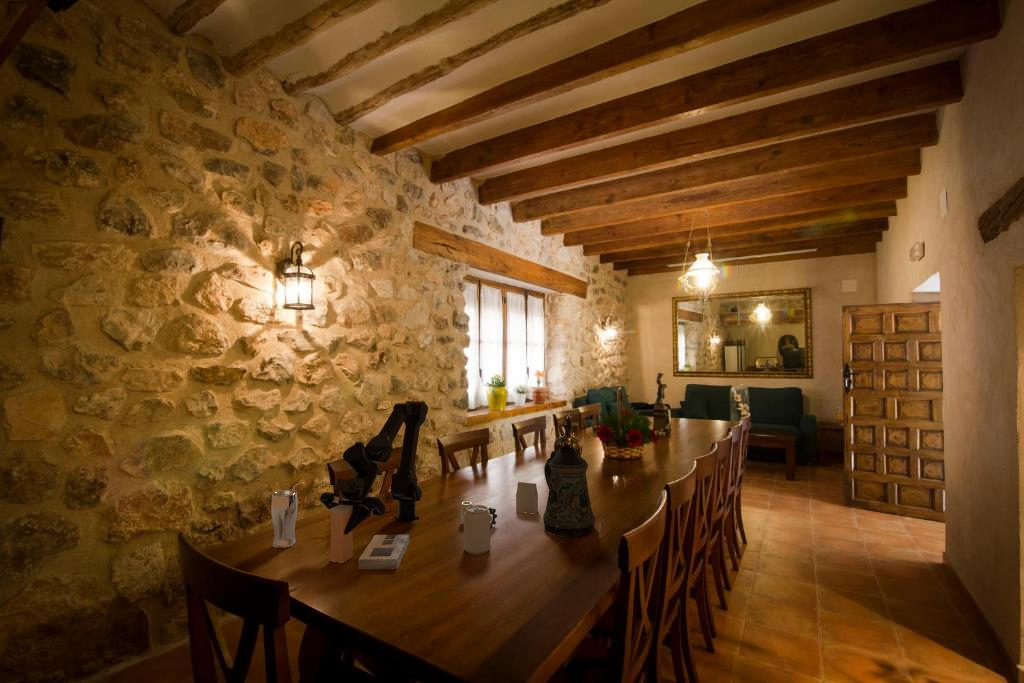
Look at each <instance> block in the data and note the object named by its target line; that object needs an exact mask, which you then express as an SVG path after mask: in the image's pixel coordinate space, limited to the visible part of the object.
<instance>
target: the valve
mask: <svg viewBox="0 0 1024 683" xmlns="http://www.w3.org/2000/svg"><path fill="white" fill-rule="evenodd" d="M472 505H473V502H471V501H468V500H467V501H462V503H461V508H460V509H461V510H460V511H459V512H460V517H461V518H460V519H461V521H460V522H461V525H464V513H465V512H466V511H467V510H466V508H467V507H469V506H472ZM488 511H489V512H490V530H492V529H493V525H496V524H497V521H496V519H498V514H497V513H496V511H497V509H496V508H492V507H488ZM491 528H492V529H491Z"/></svg>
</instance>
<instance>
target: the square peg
mask: <svg viewBox="0 0 1024 683" xmlns="http://www.w3.org/2000/svg"><path fill="white" fill-rule="evenodd" d="M329 511H330V529H331V531H330V561H332V563H336V562H338V563H339V564H342V563H343V564H344V562H345V563H346V562H348V561H349V560H350V558H351V559H352V558H353V536H354V535H353V534H354V533H353V532H354V531H353V530H354V529H353V530H352V531H350V532H349V533H348V534H347V535H345V534H344V531H345V528H346V526H347V524H348V522H349V519H350V517H351V515H352V513H353V506H349V505H341V504H340V505H338V506H336V507H334V508H332V509H330V510H329ZM347 560H348V561H347Z"/></svg>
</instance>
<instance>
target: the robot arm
mask: <svg viewBox="0 0 1024 683" xmlns="http://www.w3.org/2000/svg"><path fill="white" fill-rule="evenodd" d="M428 412H429V406H428V404H427V403H426V402H425V401H424V400H423V401H422V400H421V401H420V400H419V401H417V400H406V401H405V403H404V402H402V403H401V402H398V403H395V404H394V405H393V409H392V412H391V413H390V414H389V416H388V418H387V420H386V422H385V423H384V425H383V426H382V427H381V430H380V431H379V432H378V434H377V435H375V436H373V437H372V438H371V439H369V441H368V442H367V443H366V445H365V444H364V442H362V441H356V442H355V444H352V445H350V446H349V447H348V448H346V449H345V450H344V451H343V454H342V459H343V460H344V462H345V463H346V464H347V466H348V467H349V468H350V469H351V471H353V472H354V473H355V475H354V477H353V478H351V477H350V478H349V479H344V478H336V481H335V485H334V489H333V490H334V492H331V491H324V492H321V495H320V497H319V498H318V501H319V502H320V503H321V504H322V505H324V507H325V508H326V509H328V510H329V511H330V509H332V508H334V507H336V506H338V505H340V504H341V505H349V506H353V513H352V515H351V517H350V519H349V522H348V524H347V526H346V528H345V531H344V534H345V535H347V534H348V533H349V532H350V531H352V530H354V529H355V528H356V527H357V526H359V525H360V524H361V523H363V521H365V520H366V519H368V518H371V517H372V515H371V512H372V514H373V515H374V516H378V517H383V516H384V514H385V512H386V504H384V502H383V501H382V500H381V499H380V498H379V497H376V496H375V497H374V496H369V494H372V493H373V492H374V489H373V488H372V487H373V485H374V482H375V481H376V478H377V477H378V476H382V475H383V471H382V468H381V465H378V464H379V463H380V464H384V463H385V464H386V463H387V462H388V461H389V460H390V457H391V455H392V453H393V450H394V449H393V448H394V446H393V443H394V440H395V439H396V437H397V435H398V433H399V431H400V429H401V428H402V427H403V425H404V426H405V428H404V434H403V440H402V448H401V454H400V462H399V467H398V468H399V469H397V471H396V472H394V473H392V475H391V482H390V485H389V486H390V493H391V499H392V501H393V500H394V501H395V500H396V501H398V503H397V504H398V509H397V514H394V517H395V518H396V519H398V521H399V522H407V521H412V520H417V518H418V519H420V515H418V514H417V513H416V510H417V509H416V505H417V504H416V502H420V501H421V499H422V497H423V491H422V490H421V488H420V487H419V485H418V476H417V474H416V471H415V464H416V458H417V449H418V443H419V435H420V429H421V427H422V425H423V424H424V423H425V422H426V420H427V415H428ZM377 463H378V464H377ZM336 492H340V495H341V496H342V497H343V498H341V497H340V496H339V494H337V493H336ZM329 532H331V528H330V530H329Z"/></svg>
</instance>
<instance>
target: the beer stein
mask: <svg viewBox="0 0 1024 683" xmlns="http://www.w3.org/2000/svg"><path fill="white" fill-rule="evenodd" d="M588 467H589V463H588V461H586V459H585V458H583V457H582V456H581V455H580V454H578V453H577V452H576V450H575V448H573V447H567V446H565V447H564V446H563V447H560V449H559V450H552V451H551V453H550V456H549V458H547V460H546V462H545V464H544V467H543V472H544V478H545V482H546V485H547V487H548V496H547V501H546V506H545V510H544V513H543V516H542V521H543V525H544V526H543V528H544V530H545V529H546V530H547V531H548V532H550V533H552V534H551V535H553V534H555V535H559V536H558V537H560V536H563V537H562V538H568V537H576V538H582V537H583V536H584V537H586V536H589V535H592V534H593V532H594V529H595V524H596V517H595V514H594V512H593V510H592V504H591V499H590V494H589V493H590V492H589V486H588V480H587V471H588ZM546 530H545V531H546ZM547 531H546V532H547ZM548 532H547V533H548ZM550 533H549V534H550ZM555 535H554V536H555ZM584 537H583V538H584Z"/></svg>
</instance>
